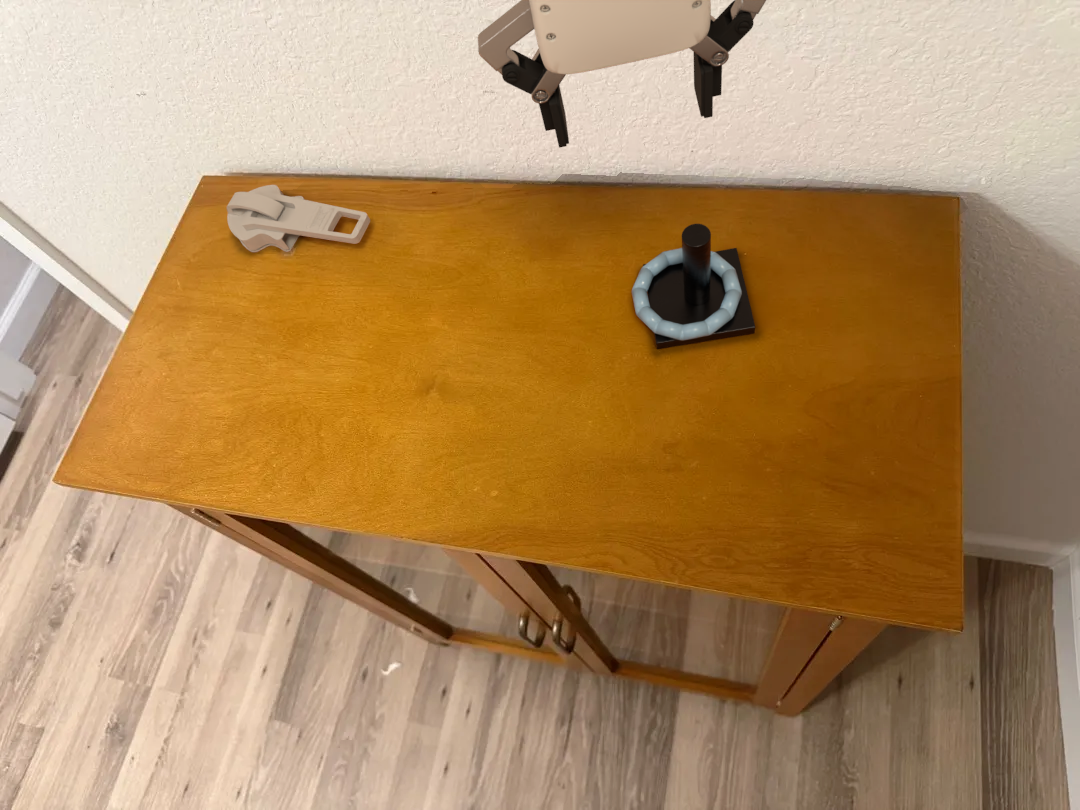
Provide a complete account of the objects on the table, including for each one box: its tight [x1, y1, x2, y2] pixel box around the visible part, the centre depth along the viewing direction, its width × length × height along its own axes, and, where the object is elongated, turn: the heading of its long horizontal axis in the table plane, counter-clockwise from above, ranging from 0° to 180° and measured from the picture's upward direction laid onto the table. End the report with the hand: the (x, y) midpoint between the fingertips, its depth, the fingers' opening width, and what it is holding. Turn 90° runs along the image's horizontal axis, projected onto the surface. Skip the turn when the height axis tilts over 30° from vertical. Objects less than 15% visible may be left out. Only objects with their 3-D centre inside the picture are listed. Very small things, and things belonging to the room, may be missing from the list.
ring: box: [631, 247, 742, 340], centre depth 72 cm, size 10×10×1 cm
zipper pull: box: [226, 184, 371, 253], centre depth 85 cm, size 8×18×4 cm, turn 70°
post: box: [642, 223, 756, 350], centre depth 69 cm, size 9×9×10 cm
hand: (631, 117), depth 52 cm, fingers open, 9 cm apart
